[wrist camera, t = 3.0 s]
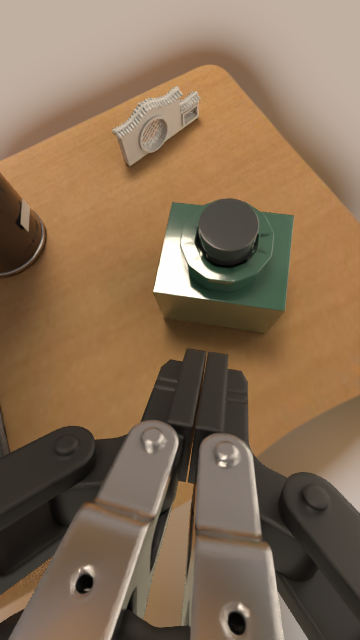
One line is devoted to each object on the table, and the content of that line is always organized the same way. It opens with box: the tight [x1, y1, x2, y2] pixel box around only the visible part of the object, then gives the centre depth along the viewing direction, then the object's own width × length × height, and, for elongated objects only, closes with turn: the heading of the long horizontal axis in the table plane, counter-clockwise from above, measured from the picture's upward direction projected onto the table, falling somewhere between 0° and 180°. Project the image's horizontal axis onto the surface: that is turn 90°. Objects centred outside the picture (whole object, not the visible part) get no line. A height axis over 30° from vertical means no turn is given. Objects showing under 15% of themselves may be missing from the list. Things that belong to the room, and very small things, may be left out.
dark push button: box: [199, 199, 259, 266], centre depth 24 cm, size 4×4×2 cm
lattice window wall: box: [112, 86, 201, 166], centre depth 38 cm, size 12×2×6 cm, turn 130°
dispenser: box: [153, 199, 294, 333], centre depth 30 cm, size 11×9×10 cm
